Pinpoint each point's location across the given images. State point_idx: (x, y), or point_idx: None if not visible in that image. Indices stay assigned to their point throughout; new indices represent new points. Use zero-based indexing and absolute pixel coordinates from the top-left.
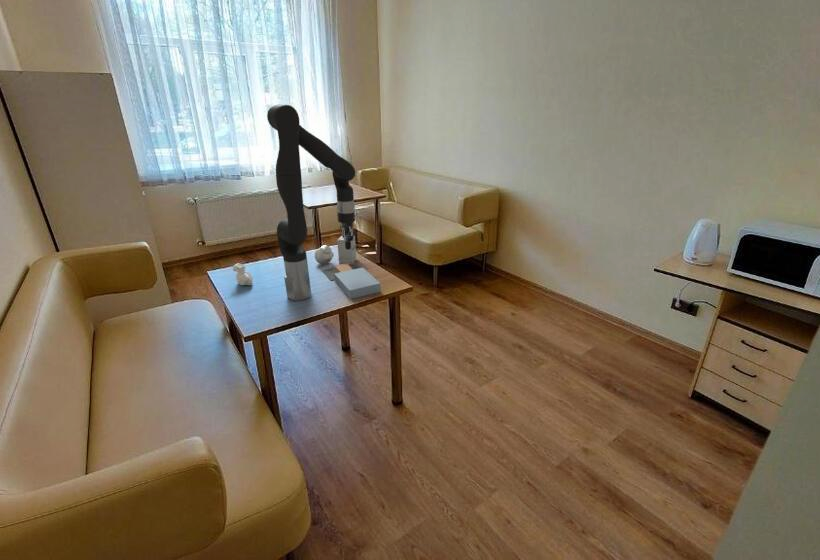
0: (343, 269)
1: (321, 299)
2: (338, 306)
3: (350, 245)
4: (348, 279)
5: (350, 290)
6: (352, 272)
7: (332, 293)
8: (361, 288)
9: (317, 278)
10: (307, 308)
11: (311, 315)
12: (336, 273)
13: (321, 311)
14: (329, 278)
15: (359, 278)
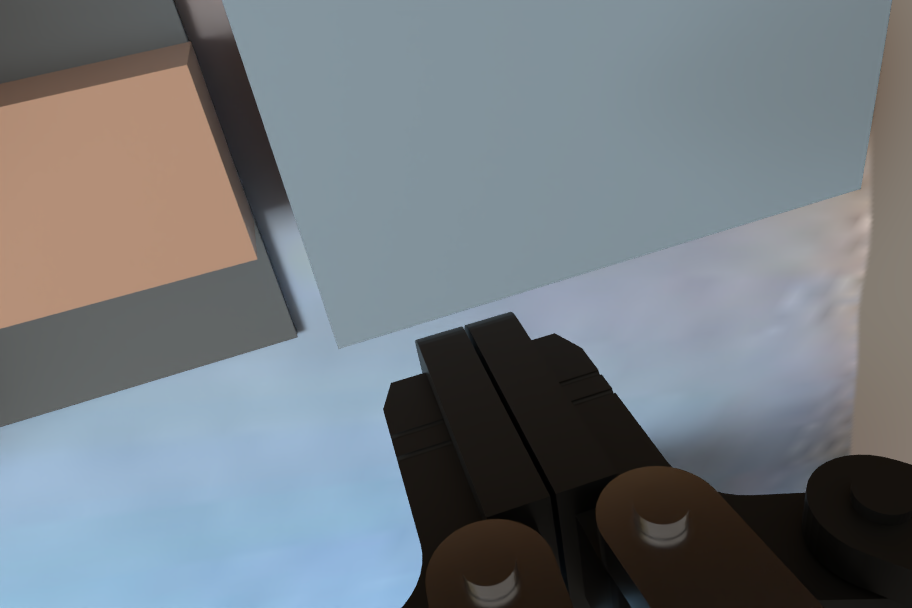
0: (148, 219)
1: (667, 385)
2: (847, 258)
3: (607, 385)
4: (592, 180)
5: (858, 177)
6: (370, 100)
7: (602, 307)
8: (876, 41)
9: (187, 461)
10: (747, 456)
11: (847, 422)
12: (343, 321)
13: (839, 370)
14: (233, 351)
15: (628, 22)
